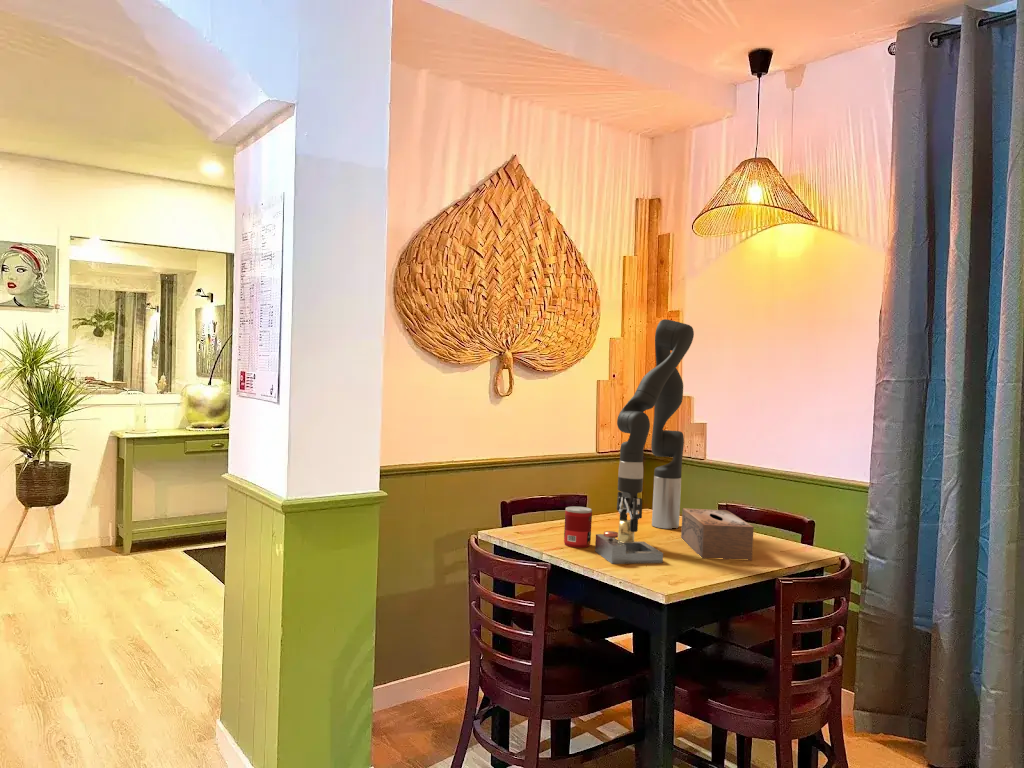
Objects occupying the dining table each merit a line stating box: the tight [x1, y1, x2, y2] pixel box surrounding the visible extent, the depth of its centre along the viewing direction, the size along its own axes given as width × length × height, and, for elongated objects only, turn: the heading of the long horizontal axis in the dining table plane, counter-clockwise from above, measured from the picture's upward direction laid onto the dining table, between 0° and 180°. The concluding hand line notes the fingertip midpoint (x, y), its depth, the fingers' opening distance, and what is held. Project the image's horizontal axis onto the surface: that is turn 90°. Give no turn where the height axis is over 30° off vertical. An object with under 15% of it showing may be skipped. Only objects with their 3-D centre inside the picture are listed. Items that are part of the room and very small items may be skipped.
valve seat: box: [594, 530, 664, 565], centre depth 218 cm, size 14×15×7 cm
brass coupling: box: [617, 519, 635, 542], centre depth 235 cm, size 5×5×7 cm
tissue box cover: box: [680, 507, 754, 561], centre depth 233 cm, size 26×14×10 cm, turn 1°
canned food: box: [563, 506, 593, 549], centre depth 230 cm, size 8×8×11 cm
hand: (628, 528), depth 234 cm, fingers open, 8 cm apart
